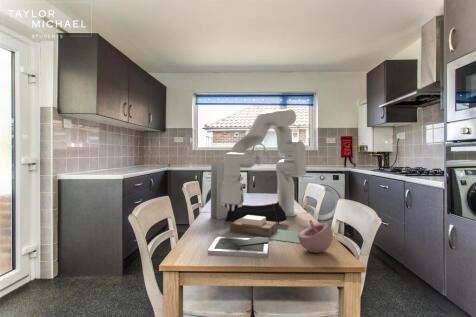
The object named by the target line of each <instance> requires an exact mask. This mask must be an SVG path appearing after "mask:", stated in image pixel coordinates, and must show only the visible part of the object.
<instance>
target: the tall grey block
mask: <svg viewBox="0 0 476 317" xmlns="http://www.w3.org/2000/svg"><path fill="white" fill-rule="evenodd" d="M210 163H211V164H210V218H211V217H213V218H216V220H217V219H218V220H222V218H223V219H226V216H227V213H228V210H227V208H226V207H225V206H223V205H221V189H222V184H223V182H224V161H216V162H215V161H214V162H213V161H212V162H210Z"/></svg>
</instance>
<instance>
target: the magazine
mask: <svg viewBox="0 0 476 317" xmlns="http://www.w3.org/2000/svg"><path fill="white" fill-rule="evenodd" d="M231 205H232V204H231ZM246 215H253V216H262V217H266V221H272V222H277V225H280V223H281V222H286V221H287V216H286V214H285V211H284V209H283V207H282V205H281V206H280V205H279V202H275V203H274V202H273V203H268V204H262V205H259V204H258V205H250V204H249V205H248V204H243V206H242V207H238V208H237V209H236V210H235V218H234V219H229V217H228V213H227V216H226V218H224V219H225V220H224V222H228V223H232V222H234V221H236V220H238V219H240V218H243V217H245V216H246Z"/></svg>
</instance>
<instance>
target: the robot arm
mask: <svg viewBox="0 0 476 317" xmlns="http://www.w3.org/2000/svg"><path fill="white" fill-rule="evenodd" d="M296 121H297V114H296V112H295V110H293V109H290V108H288V109H286V108H285V109H275V110H265V111H262V112H259V114H257V116H256V118H255V119H254V122H253V124H252V125H251V127H250V129H249V131H248V132H247V133H246V134H245V135H244V136H242V137H240V139H239V140H238V141H236V143H235V144H234V145H233V147H232V148H231V150H230V152H226V153H224V154H223V155H224V157H223V162H224V182H223V184H222V189H221V205H223V206H225V207H226V208H227V210H228V217H229V219H234V218H235V210H236V209H237V208H238V207H242V206H243V205H244V204H243V203H244V201H245V198H244V197H245V196H244V195H245V194H244V187H243V182H241V181H243V179H244V178H243V177H241V169H251V168H252V167H254V166H255V164H256V160H257V159H256V156H255V154H253V153H251V152H247V150H249V149H251V148H253V147H255V146H257V145H260V144H261V143H262V142H264V139H265V138H266V135H267V134H268V132H269V130H270V128H273V130H274V132H275V133H276V134H275V135H276V146H277V148H276V149H277V154H278V155H279V157H281V158H285V159H280V160H279V161H277V162H276V166H275V169H276V170H275V171H276V178H277V191H276V192H277V195H276V196H277V199H276V200H277V202H279V205H280V206H281V205H282V207H283V209H284V211H285V214H286V217H294V216H297V212H296V211H295V182H294V179H293V177H295V178H302V177H305V175H306V174H307V152H306V146H305V144H304V142H303V141H302V140H300V139H299V140H298V139H296V140H295V139H293V134H292V129H291V128H290V126H292V125H294V124H295V122H296ZM287 158H293V159H287ZM277 202H276V203H277ZM231 204H232V205H231Z"/></svg>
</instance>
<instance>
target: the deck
mask: <svg viewBox="0 0 476 317" xmlns="http://www.w3.org/2000/svg"><path fill="white" fill-rule="evenodd" d="M277 231H278V223H277V222H272V221H266V222H265V223H264V224H263V225H261V226H258V225H250V224H242V218H240V219H238V220H236V221H234V222H229V234H230V233H231V234H237V235H245V236H252V237H269V238H270V237H271V236H272V235H273V234H274V233H275V232H277Z"/></svg>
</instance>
